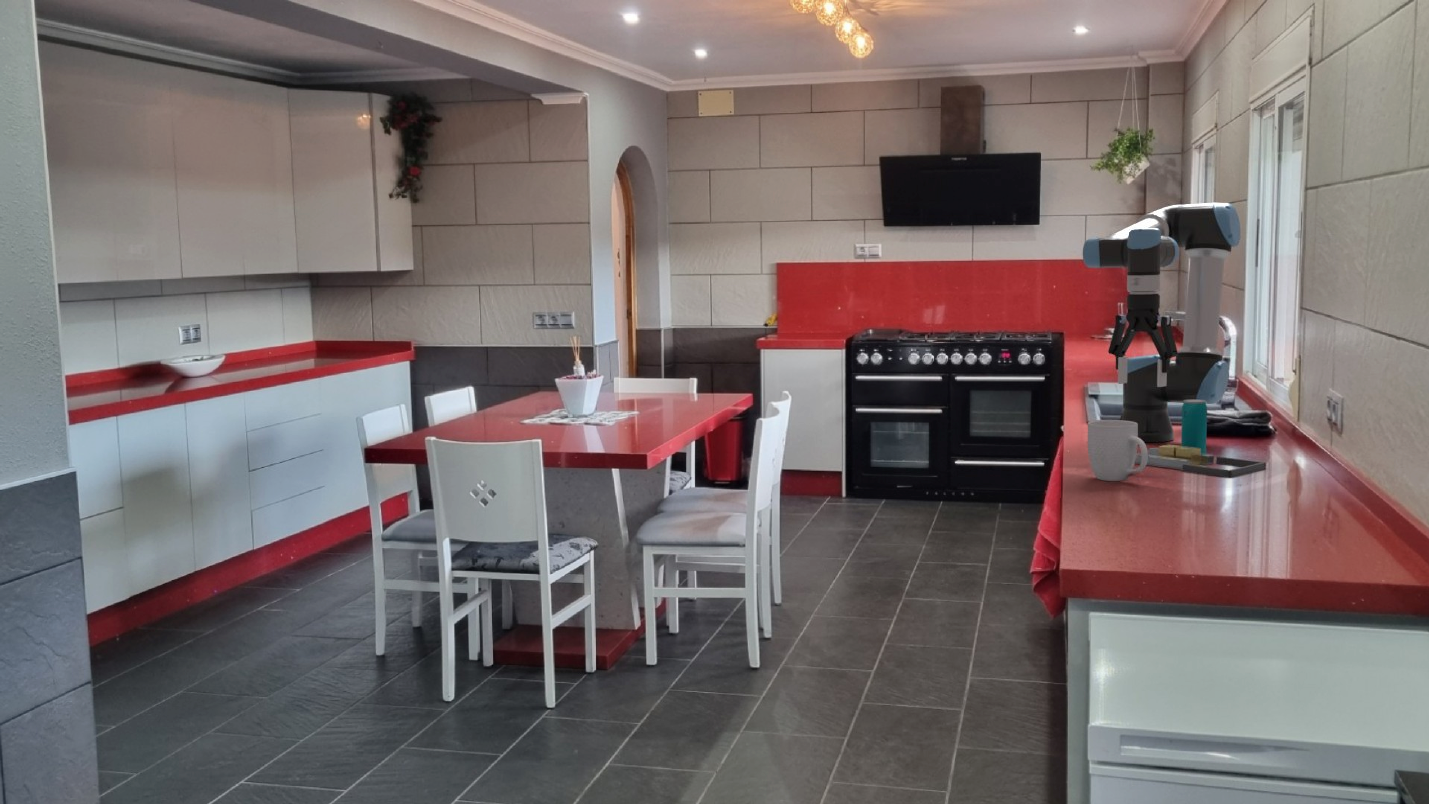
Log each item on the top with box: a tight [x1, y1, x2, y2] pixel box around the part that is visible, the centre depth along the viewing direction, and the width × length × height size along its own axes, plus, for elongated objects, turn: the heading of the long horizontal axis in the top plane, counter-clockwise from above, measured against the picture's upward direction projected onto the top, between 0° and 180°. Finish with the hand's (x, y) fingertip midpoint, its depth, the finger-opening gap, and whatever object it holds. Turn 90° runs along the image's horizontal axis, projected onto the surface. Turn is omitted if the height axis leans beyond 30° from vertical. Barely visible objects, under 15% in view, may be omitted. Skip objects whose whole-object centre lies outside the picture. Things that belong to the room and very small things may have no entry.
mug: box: [1087, 419, 1148, 482], centre depth 281 cm, size 15×11×13 cm
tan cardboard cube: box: [1176, 446, 1201, 466], centre depth 290 cm, size 4×4×4 cm
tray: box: [1182, 456, 1267, 478], centre depth 283 cm, size 15×12×3 cm
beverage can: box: [1180, 399, 1208, 454], centre depth 303 cm, size 6×6×15 cm
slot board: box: [1135, 447, 1215, 471], centre depth 294 cm, size 12×16×4 cm
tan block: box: [1158, 444, 1183, 458], centre depth 293 cm, size 4×4×4 cm
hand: (1141, 384), depth 298 cm, fingers open, 10 cm apart
